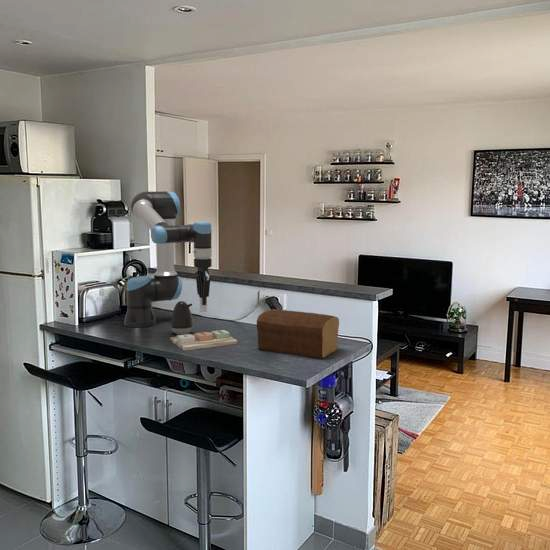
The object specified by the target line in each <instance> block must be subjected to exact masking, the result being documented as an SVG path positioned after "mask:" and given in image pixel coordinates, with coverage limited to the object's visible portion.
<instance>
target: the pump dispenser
mask: <svg viewBox="0 0 550 550" xmlns="http://www.w3.org/2000/svg"><path fill="white" fill-rule="evenodd" d="M192 306H193V303H187V301H184V300H180V301H178V302H177V303H175V306H174V307H173V310H172V314H171V317H170V318H171V319H170V328H171V329H172V330H171V331H172V332H173V333H174V334H176V335H186V334H191V332H192V330H193V327H194V319H193V314H192V312H191V309H190V307H192Z"/></svg>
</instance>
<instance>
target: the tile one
mask: <svg viewBox="0 0 550 550" xmlns="http://www.w3.org/2000/svg"><path fill="white" fill-rule="evenodd" d="M193 335H194V334H191V333H188V334H186V335H178V334H176V337H177V342H179V343H180V344H185V343H193V342H195V337H194V336H193Z"/></svg>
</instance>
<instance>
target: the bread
mask: <svg viewBox="0 0 550 550" xmlns="http://www.w3.org/2000/svg"><path fill="white" fill-rule="evenodd" d="M339 327H340V318H339V317H338V316H334V315H331V314H330V315H329V314H323V313H316V312H306V311H305V312H304V311H296V310H287V309H286V310H285V309H280V308H279V309H277V308H276V309H275V308H273V309H268V310H265V311H263V312H261V313H260V314H259V315H258V317H257V319H256V330H257V347H258V350H262V351H269V352H274V353H275V352H277V353H282V354H286V355H287V354H289V355H293V356H302V357H309V358H314V359H315V358H316V359H324V358H326V357H327V356H330V355H331V354H333V353H334V352H336V351H337V350H338V337H339Z"/></svg>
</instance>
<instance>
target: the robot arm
mask: <svg viewBox="0 0 550 550" xmlns="http://www.w3.org/2000/svg"><path fill="white" fill-rule="evenodd" d="M130 210H131V212H132V214H133V215H134V217H135V218H138V219H140V220H141V222H142V223H143V224H144V225H145V226H146V227H147V228H148V229H149V230H150V238H151V241H152V243H153V244H155V247H156V249H155V250H156V271H155V272H154V273H153V278H152V277H151V275H140V276H139V275H138V276H135V277H131V278H128V279H127V282H126V301H127V303H126V305H127V310H126V314H125V316H124V319H123V320H124V321H123V324H124V326H125V327H129V328H145V327H153V326H154V325H156V323H157V318H156V316H155V313H154V310H153V307H152V305H153V303H155V302H164V301H173V300H177V299H179V298H180V296H181V294H182V292H183V291H182V289H183V282H182V278H181V277H180V276H178V273H177V271H175V249H174V248H175V246H174V245H175V244H177V243H178V244H179V243H193V251H192V253H193V257H194V258H193V267H194V268H197V271H195V273H194V276H195V283H196V290H197V291H196V293H197V295H198V297H199V313H201V314H202V313H207V312H208V309H207V308H208V307H207V306H208V303H207V302H208V301H207V300H208V299H207V298H208V297H209V296H210V287H211V281H212V276H211V275H210V272H209V268H211V267H213V266H212V265H213V264H212V263H213V259H212V257H213V256H212V255H213V253H212V252H213V251H212V250H213V249H212V233H213V230H212V223H211V222H210V221H204V220H202V221H199V220H198V221H194V223H191V224H190V223H189V224H177V225H176V224H175V225H174V222H175V221H176V220H177V216H179V215H180V213H181V202H180V198H179V197H178V195H177V194H176V192H174V191H167V190H166V191H149V190H147V191H142V192H139V193H137V194H136V195H135V196H134V197H133V198H132V200H131V202H130Z"/></svg>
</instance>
